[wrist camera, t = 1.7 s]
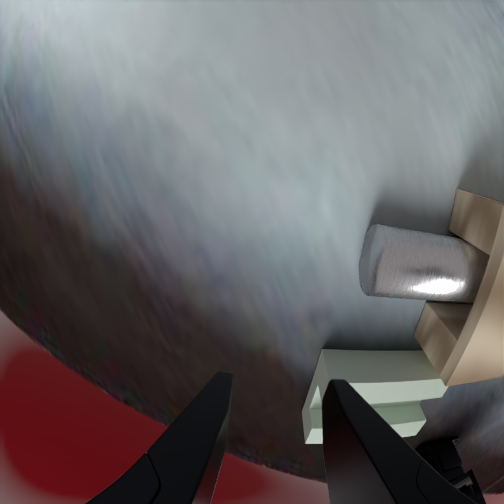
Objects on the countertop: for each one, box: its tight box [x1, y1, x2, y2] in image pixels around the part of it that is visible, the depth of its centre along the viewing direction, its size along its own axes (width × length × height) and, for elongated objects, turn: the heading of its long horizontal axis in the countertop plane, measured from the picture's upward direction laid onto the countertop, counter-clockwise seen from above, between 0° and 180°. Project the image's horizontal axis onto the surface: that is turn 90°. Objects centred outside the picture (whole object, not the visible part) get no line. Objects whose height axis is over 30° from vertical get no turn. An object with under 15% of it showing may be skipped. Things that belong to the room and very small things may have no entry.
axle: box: [359, 224, 490, 302], centre depth 16 cm, size 16×4×4 cm, turn 84°
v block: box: [302, 349, 448, 444], centre depth 20 cm, size 7×10×4 cm
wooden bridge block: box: [413, 189, 504, 386], centre depth 15 cm, size 11×6×6 cm, turn 174°
